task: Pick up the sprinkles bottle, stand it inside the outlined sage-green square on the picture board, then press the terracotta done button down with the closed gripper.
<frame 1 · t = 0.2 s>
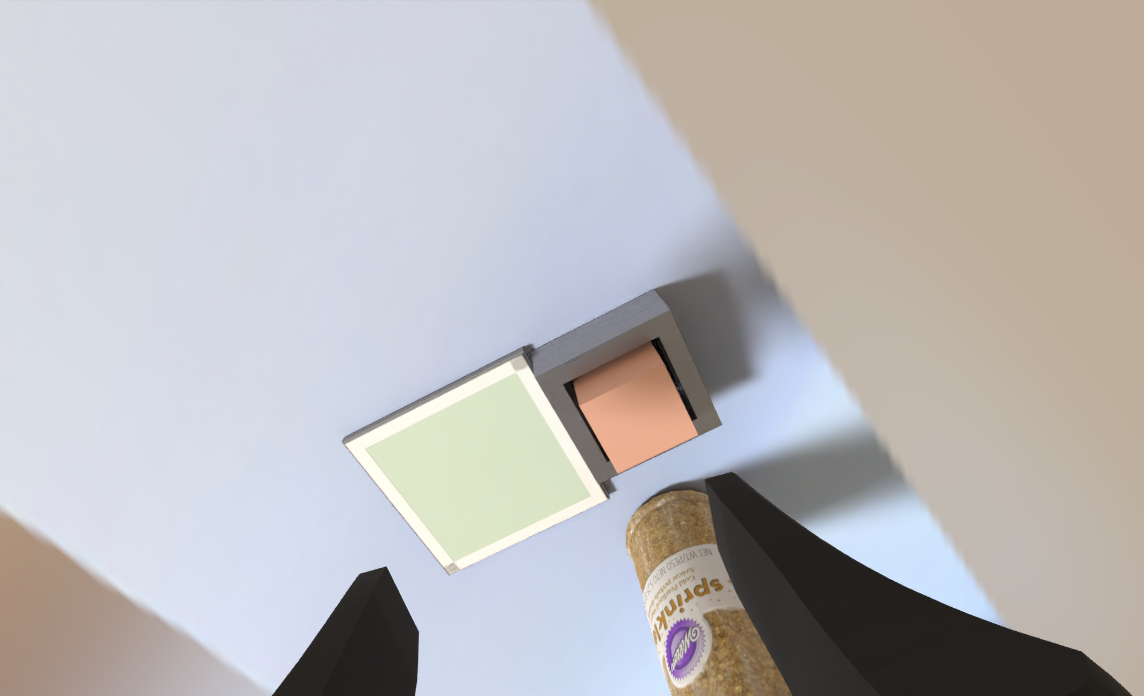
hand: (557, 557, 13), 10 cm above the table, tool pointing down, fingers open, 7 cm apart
button housing: (620, 374, 22), on the table
sprinkles bottle: (673, 525, 26), on the table
picture board: (483, 467, 23), on the table
done button: (633, 406, 20), point 3 cm above the table, slide at 0.0 cm
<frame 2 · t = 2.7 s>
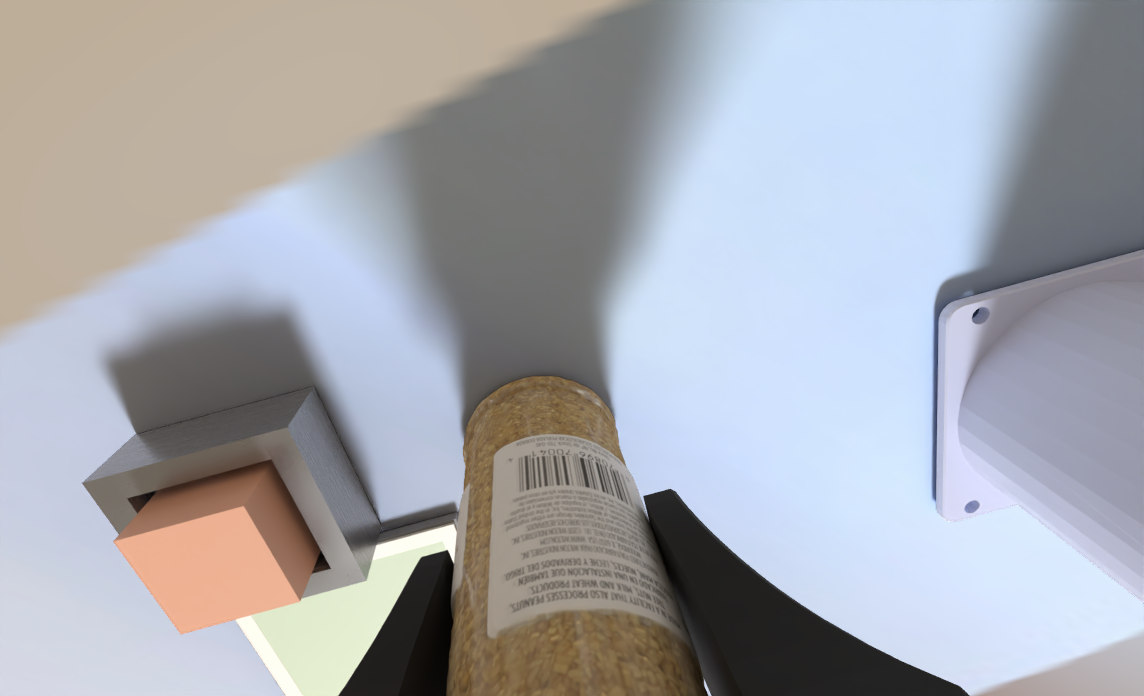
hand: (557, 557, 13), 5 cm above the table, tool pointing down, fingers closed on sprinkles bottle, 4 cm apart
button housing: (265, 483, 17), on the table
sprinkles bottle: (542, 435, 18), on the table, touching gripper
picture board: (381, 630, 20), on the table
done button: (229, 543, 15), point 2 cm above the table, slide at 0.0 cm
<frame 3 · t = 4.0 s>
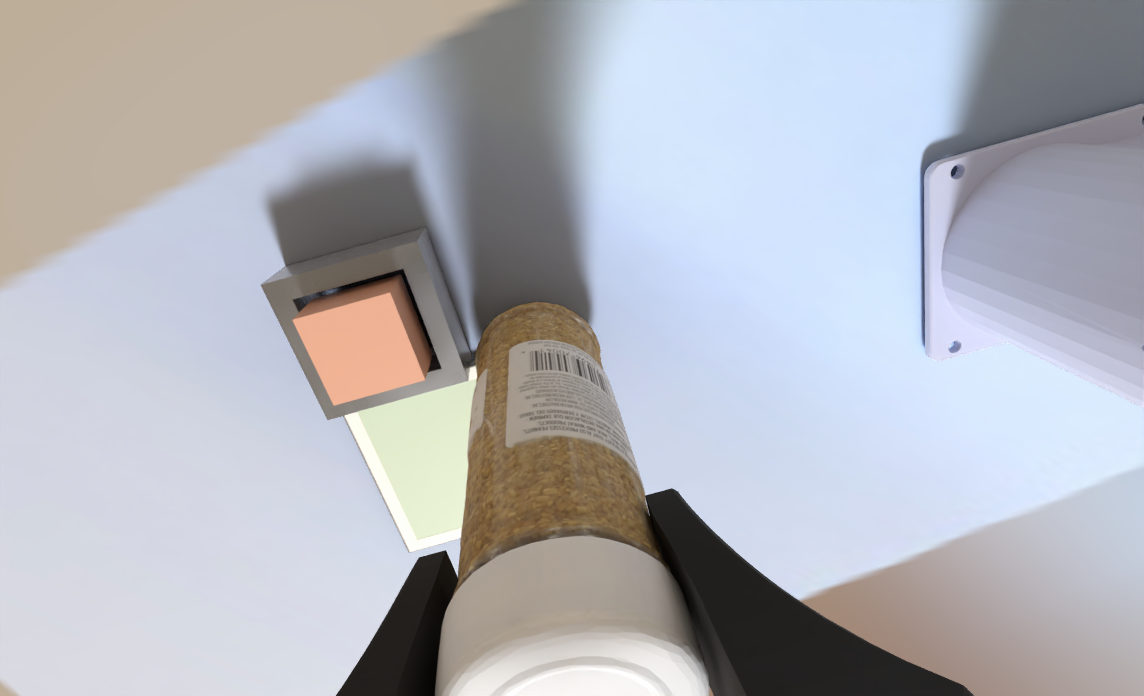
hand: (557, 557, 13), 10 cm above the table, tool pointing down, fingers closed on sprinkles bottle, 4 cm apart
button housing: (382, 312, 21), on the table
sprinkles bottle: (539, 354, 22), point 1 cm above the table, touching gripper
picture board: (466, 452, 24), on the table
done button: (367, 338, 19), point 2 cm above the table, slide at 0.0 cm
when the fingers open (6 cm above the table, at t = 5.6 s): sprinkles bottle stays where it is, resting on picture board.
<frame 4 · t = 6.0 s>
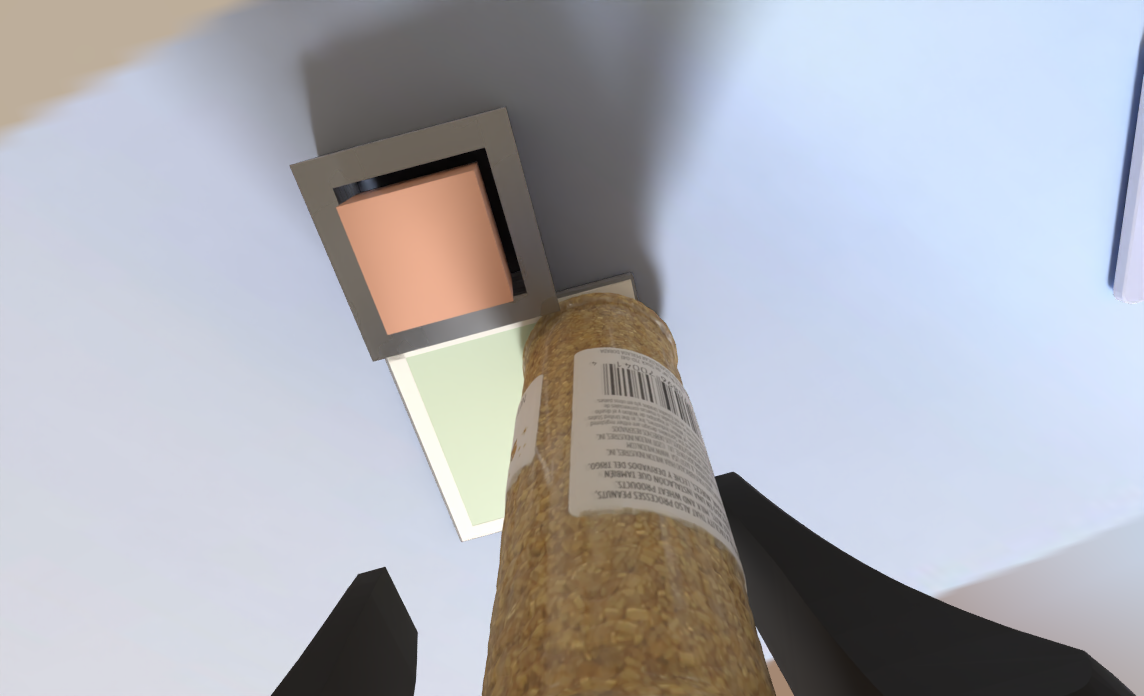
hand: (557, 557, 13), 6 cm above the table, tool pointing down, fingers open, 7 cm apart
button housing: (443, 225, 16), on the table
sprinkles bottle: (600, 354, 18), point 1 cm above the table, touching gripper, picture board
picture board: (539, 414, 19), on the table
done button: (433, 246, 14), point 3 cm above the table, slide at 0.0 cm
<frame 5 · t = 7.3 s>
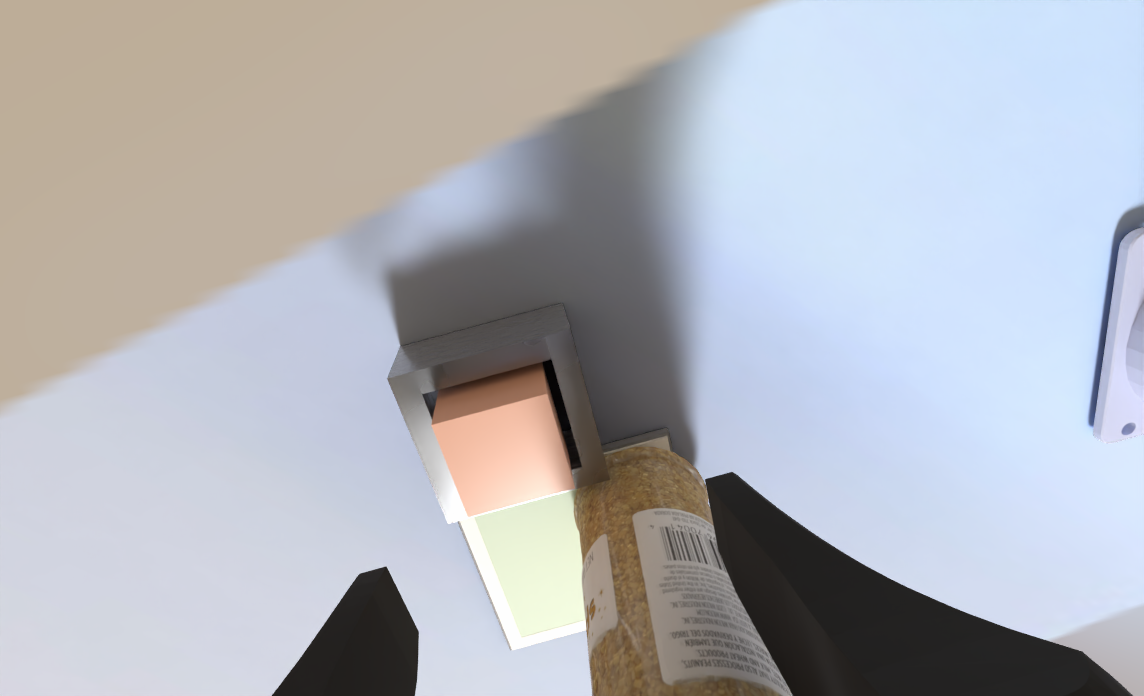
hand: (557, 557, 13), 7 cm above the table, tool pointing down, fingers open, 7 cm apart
button housing: (505, 396, 19), on the table
sprinkles bottle: (639, 494, 20), resting on picture board, touching gripper
picture board: (582, 543, 21), on the table
done button: (505, 437, 16), point 2 cm above the table, slide at 0.0 cm
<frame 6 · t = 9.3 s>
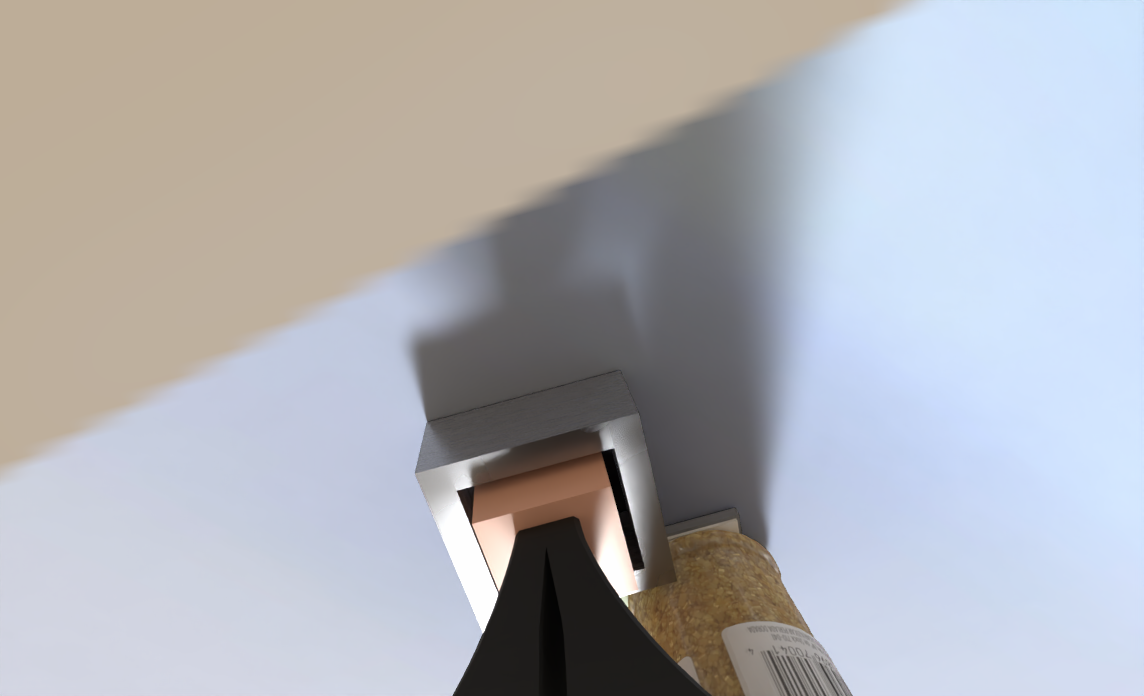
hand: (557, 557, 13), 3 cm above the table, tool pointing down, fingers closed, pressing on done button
button housing: (548, 476, 16), on the table
sprinkles bottle: (699, 579, 17), resting on picture board
picture board: (632, 634, 18), on the table
done button: (555, 528, 14), point 2 cm above the table, slide at 0.4 cm, touching gripper
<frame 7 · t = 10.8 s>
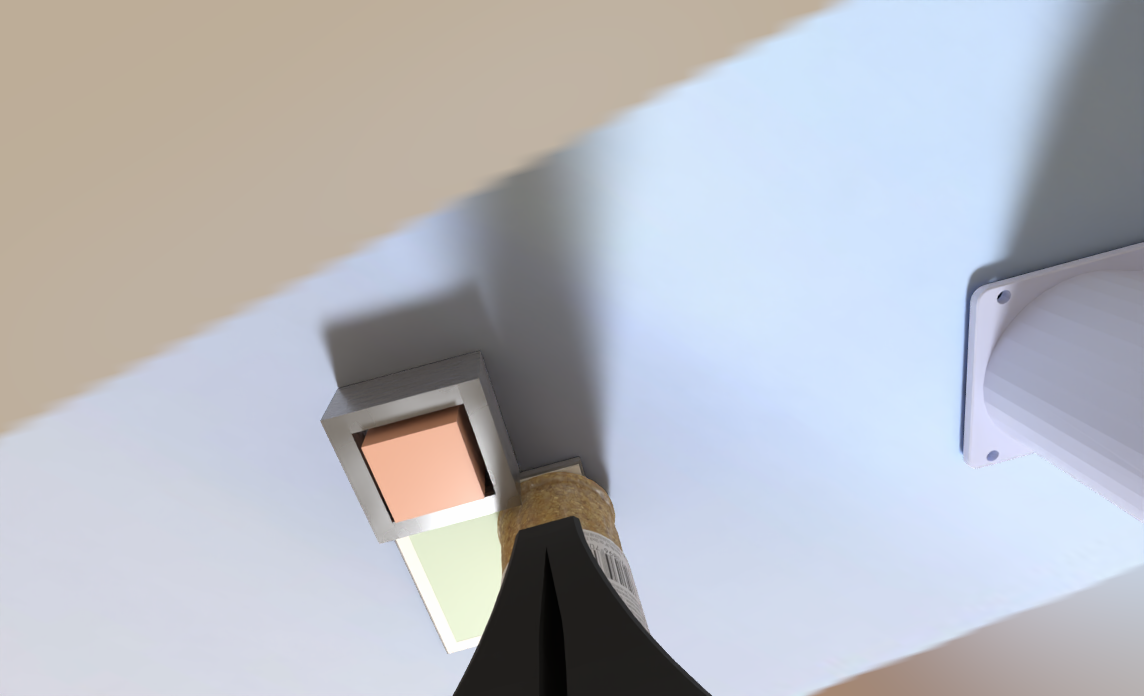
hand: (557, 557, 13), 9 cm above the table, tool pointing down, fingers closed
button housing: (433, 430, 21), on the table
sprinkles bottle: (556, 513, 23), resting on picture board
picture board: (509, 557, 24), on the table
done button: (428, 456, 20), point 2 cm above the table, slide at 0.8 cm
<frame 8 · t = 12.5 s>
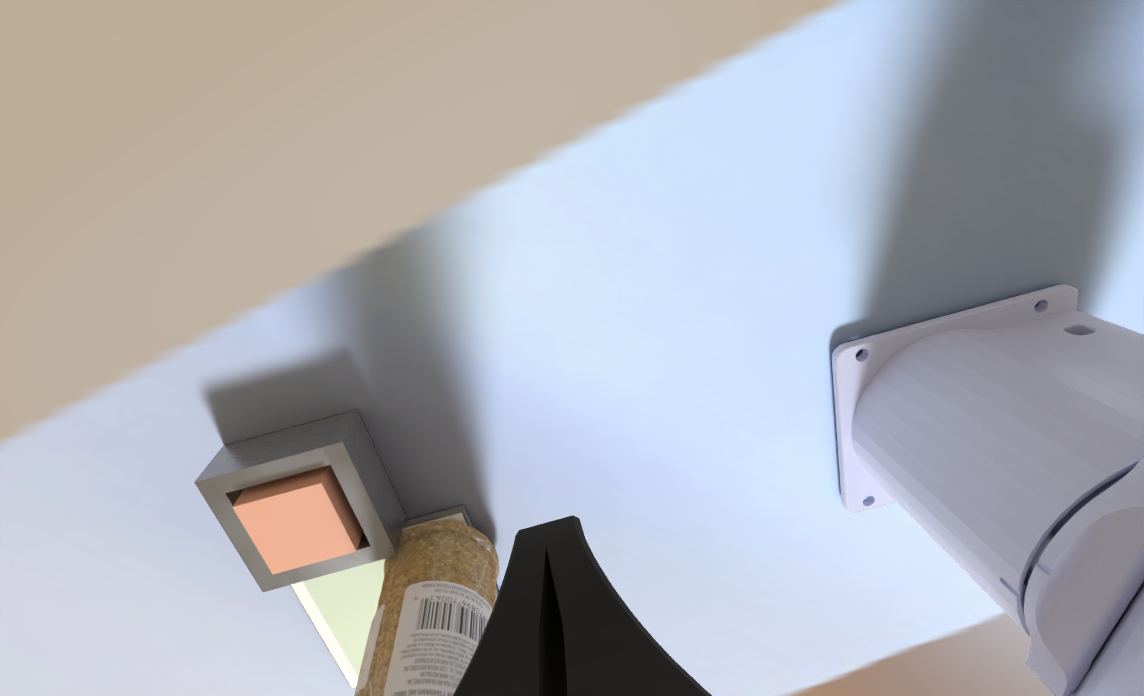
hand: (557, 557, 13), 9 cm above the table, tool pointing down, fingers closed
button housing: (318, 482, 22), on the table
sprinkles bottle: (445, 557, 24), resting on picture board
picture board: (404, 598, 25), on the table
done button: (305, 511, 21), point 2 cm above the table, slide at 0.8 cm
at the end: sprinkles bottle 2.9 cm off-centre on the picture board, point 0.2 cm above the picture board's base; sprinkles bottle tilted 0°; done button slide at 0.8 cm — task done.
